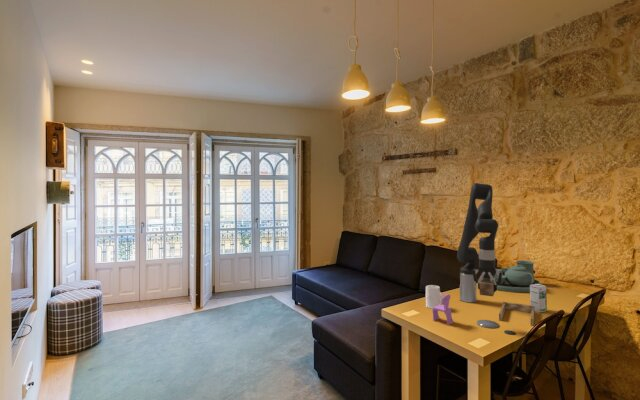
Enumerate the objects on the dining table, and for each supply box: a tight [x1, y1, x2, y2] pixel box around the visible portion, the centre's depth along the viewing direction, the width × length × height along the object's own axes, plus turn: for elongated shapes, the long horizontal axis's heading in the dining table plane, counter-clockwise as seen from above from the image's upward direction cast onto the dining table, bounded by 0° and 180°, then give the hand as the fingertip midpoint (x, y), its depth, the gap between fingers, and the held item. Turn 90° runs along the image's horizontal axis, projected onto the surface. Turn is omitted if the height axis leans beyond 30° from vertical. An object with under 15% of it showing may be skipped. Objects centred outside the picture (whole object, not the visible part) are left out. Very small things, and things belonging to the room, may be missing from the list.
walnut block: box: [479, 280, 495, 297], centre depth 174 cm, size 6×6×6 cm
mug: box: [424, 284, 445, 310], centre depth 203 cm, size 8×12×12 cm
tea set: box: [482, 259, 543, 293], centre depth 249 cm, size 40×40×16 cm
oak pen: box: [498, 301, 536, 327], centre depth 187 cm, size 15×23×4 cm, turn 147°
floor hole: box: [503, 329, 517, 336], centre depth 165 cm, size 5×5×1 cm
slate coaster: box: [476, 319, 499, 329], centre depth 176 cm, size 10×10×1 cm
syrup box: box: [529, 284, 548, 313], centre depth 195 cm, size 6×6×14 cm
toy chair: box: [432, 293, 454, 326], centre depth 181 cm, size 8×9×15 cm
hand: (487, 290), depth 176 cm, fingers closed on walnut block, 6 cm apart
